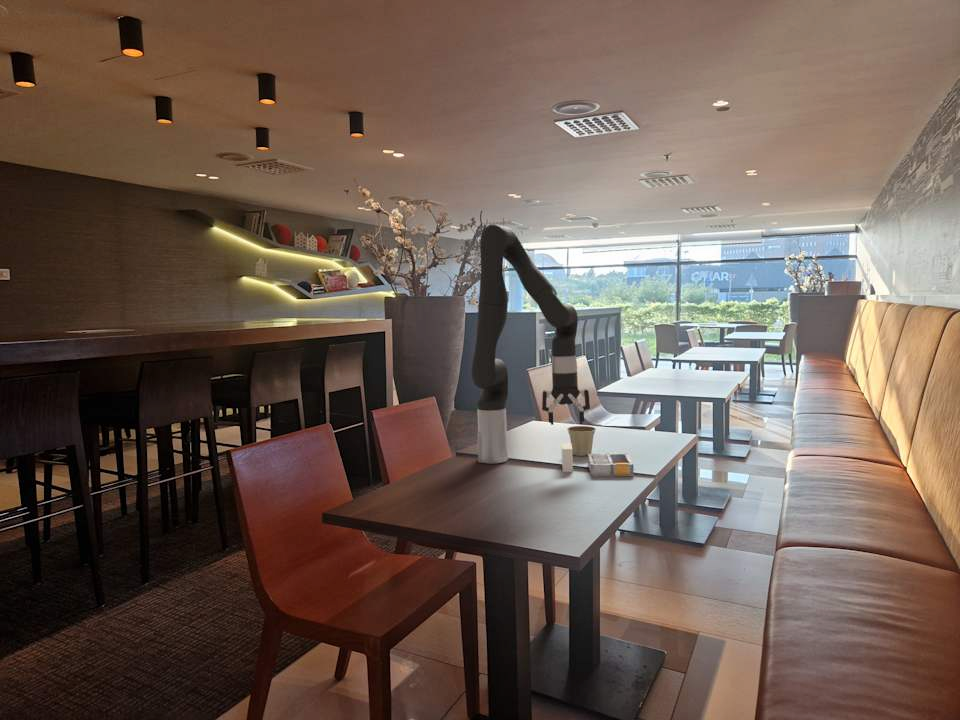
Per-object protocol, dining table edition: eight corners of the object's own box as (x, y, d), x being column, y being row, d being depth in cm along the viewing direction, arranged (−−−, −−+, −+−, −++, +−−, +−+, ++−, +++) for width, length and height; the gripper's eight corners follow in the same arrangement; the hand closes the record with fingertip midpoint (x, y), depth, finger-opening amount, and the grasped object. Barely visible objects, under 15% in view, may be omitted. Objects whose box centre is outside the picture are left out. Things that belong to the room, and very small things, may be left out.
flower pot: (595, 450, 212) (594, 425, 211) (597, 457, 202) (597, 431, 202) (567, 451, 213) (566, 426, 212) (568, 457, 203) (567, 431, 203)
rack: (591, 477, 180) (591, 464, 180) (588, 465, 194) (587, 453, 193) (633, 476, 179) (633, 463, 179) (627, 464, 192) (627, 452, 192)
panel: (562, 472, 187) (562, 449, 186) (562, 465, 195) (561, 443, 194) (572, 472, 187) (572, 449, 186) (571, 465, 195) (571, 443, 194)
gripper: (540, 373, 185) (542, 427, 186) (589, 371, 184) (591, 425, 185) (540, 370, 193) (542, 422, 194) (587, 368, 191) (589, 421, 192)
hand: (566, 423), depth 189 cm, fingers open, 8 cm apart
